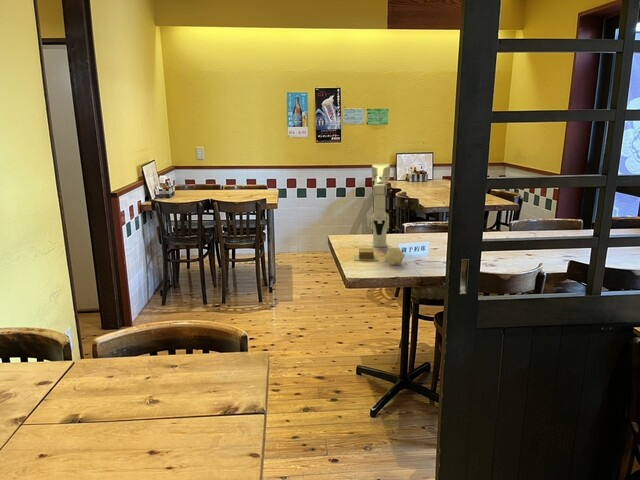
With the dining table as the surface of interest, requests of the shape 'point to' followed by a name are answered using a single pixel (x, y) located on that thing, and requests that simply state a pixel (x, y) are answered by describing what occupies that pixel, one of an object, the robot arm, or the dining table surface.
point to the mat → (356, 258)
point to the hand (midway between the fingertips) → (379, 234)
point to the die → (394, 256)
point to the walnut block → (366, 253)
